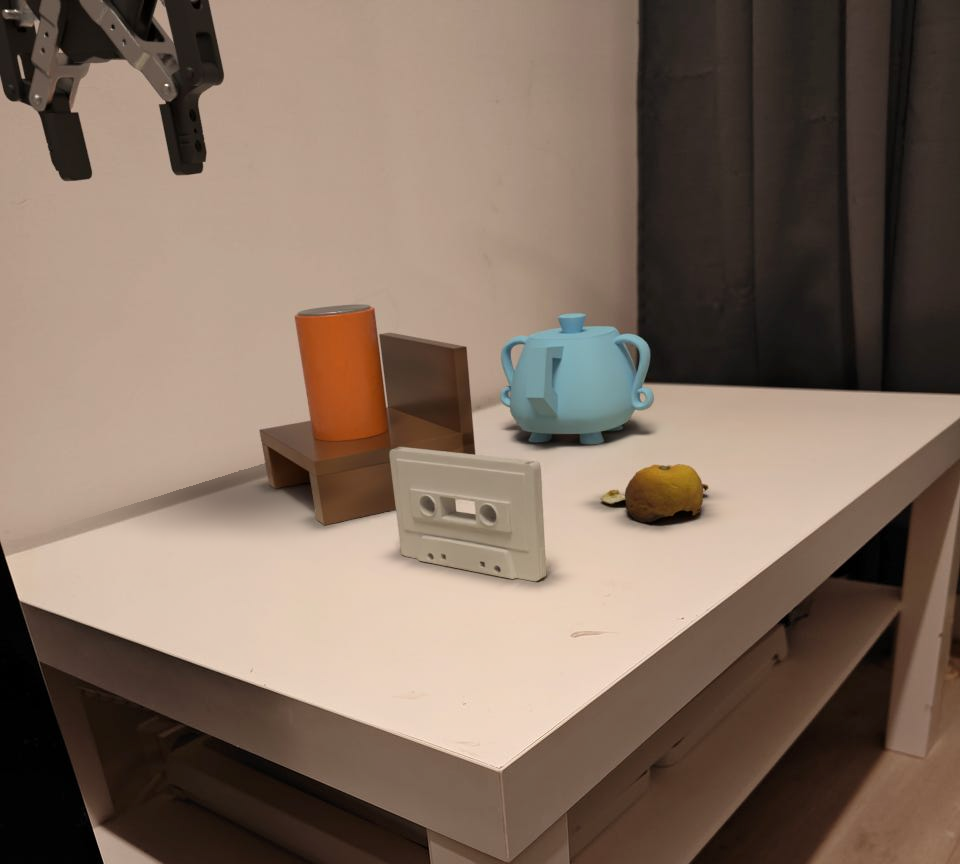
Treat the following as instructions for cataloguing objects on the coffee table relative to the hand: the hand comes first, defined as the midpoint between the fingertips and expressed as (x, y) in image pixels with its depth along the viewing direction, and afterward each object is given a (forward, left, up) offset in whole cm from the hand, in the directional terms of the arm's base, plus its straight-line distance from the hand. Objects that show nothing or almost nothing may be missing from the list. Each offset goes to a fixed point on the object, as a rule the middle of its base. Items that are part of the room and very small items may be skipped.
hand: (131, 177), depth 57 cm
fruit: (+33, -11, -26) cm, 43 cm away
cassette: (+15, -13, -26) cm, 32 cm away
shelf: (+17, +11, -25) cm, 32 cm away
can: (+16, +11, -20) cm, 28 cm away
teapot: (+42, +15, -26) cm, 51 cm away
